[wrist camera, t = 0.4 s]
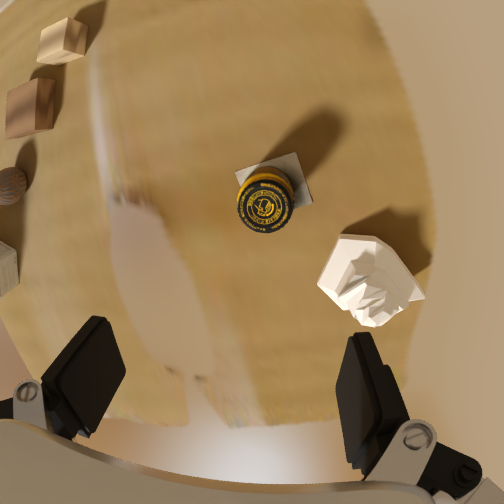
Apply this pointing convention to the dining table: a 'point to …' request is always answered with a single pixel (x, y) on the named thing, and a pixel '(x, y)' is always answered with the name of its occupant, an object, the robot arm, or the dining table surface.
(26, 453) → the robot arm
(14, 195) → the vase
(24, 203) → the dining table surface
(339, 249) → the white faceted lump
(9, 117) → the walnut block
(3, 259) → the supplement box
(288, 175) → the condiment
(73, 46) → the oak cube
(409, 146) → the dining table surface
